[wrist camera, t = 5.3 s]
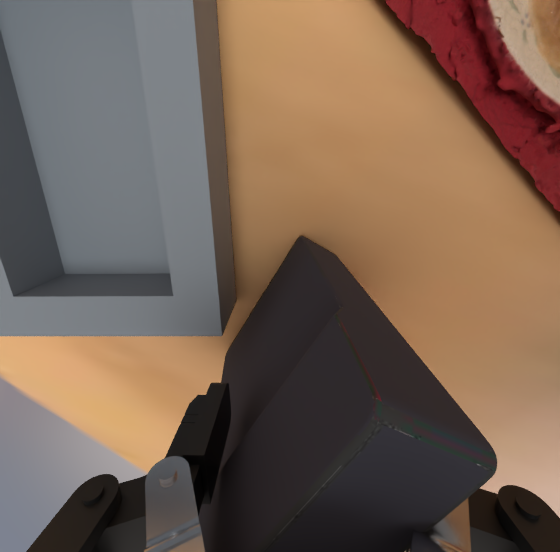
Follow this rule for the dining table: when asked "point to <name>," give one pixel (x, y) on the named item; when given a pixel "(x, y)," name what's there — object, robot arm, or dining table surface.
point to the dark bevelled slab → (334, 425)
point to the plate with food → (502, 70)
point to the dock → (113, 170)
